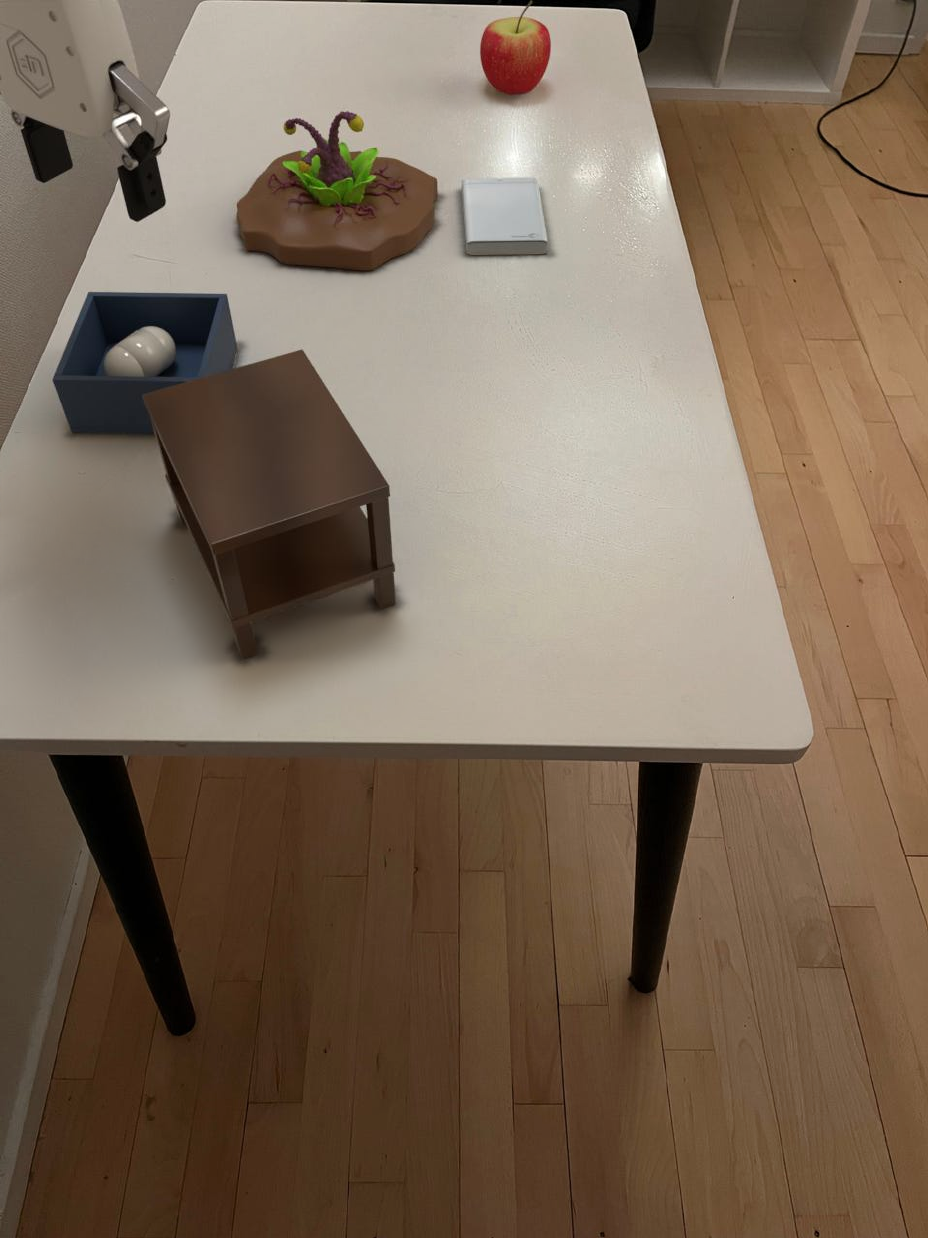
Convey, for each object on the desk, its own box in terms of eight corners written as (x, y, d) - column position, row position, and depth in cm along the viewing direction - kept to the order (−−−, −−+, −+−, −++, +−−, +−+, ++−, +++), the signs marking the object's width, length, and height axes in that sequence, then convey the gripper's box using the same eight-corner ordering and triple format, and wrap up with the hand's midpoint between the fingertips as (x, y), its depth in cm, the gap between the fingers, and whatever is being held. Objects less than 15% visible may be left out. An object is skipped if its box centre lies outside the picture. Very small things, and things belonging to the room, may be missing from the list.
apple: (556, 101, 128) (563, 12, 120) (488, 108, 126) (490, 19, 119) (538, 71, 133) (543, -16, 125) (472, 78, 131) (473, -10, 124)
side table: (241, 661, 74) (210, 544, 65) (176, 515, 83) (141, 394, 74) (397, 604, 78) (389, 485, 68) (318, 469, 87) (302, 348, 77)
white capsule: (135, 394, 89) (104, 353, 88) (116, 404, 92) (86, 364, 91) (192, 351, 93) (164, 311, 91) (172, 362, 96) (144, 324, 94)
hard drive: (548, 239, 106) (537, 175, 113) (466, 241, 105) (461, 176, 113) (547, 254, 107) (536, 190, 115) (466, 256, 107) (461, 191, 114)
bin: (215, 435, 89) (203, 381, 85) (71, 432, 89) (51, 379, 85) (237, 346, 97) (226, 293, 93) (104, 344, 97) (88, 291, 93)
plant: (394, 287, 103) (388, 177, 94) (213, 250, 107) (191, 142, 98) (459, 186, 115) (460, 81, 106) (294, 157, 119) (282, 52, 110)
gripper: (-109, -81, 67) (-18, 180, 80) (84, -21, 61) (149, 251, 74) (-14, -112, 71) (58, 142, 84) (176, -58, 65) (222, 206, 78)
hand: (101, 193), depth 79 cm, fingers open, 9 cm apart
